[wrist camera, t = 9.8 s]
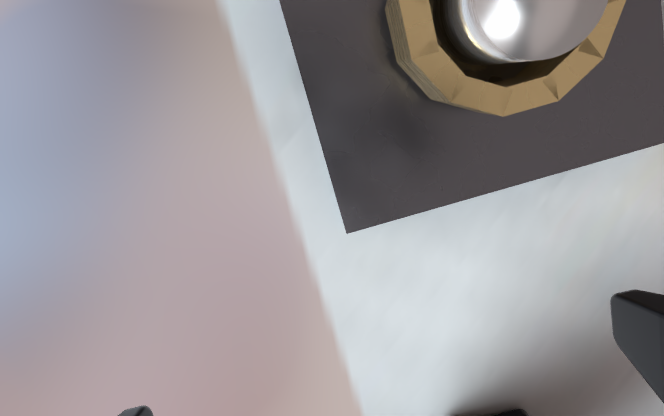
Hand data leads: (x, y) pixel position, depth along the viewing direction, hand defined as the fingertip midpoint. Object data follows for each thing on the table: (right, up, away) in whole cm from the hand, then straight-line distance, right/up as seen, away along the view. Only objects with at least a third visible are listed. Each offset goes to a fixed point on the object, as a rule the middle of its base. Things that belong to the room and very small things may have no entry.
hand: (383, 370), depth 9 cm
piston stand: (+4, +11, +10) cm, 15 cm away
